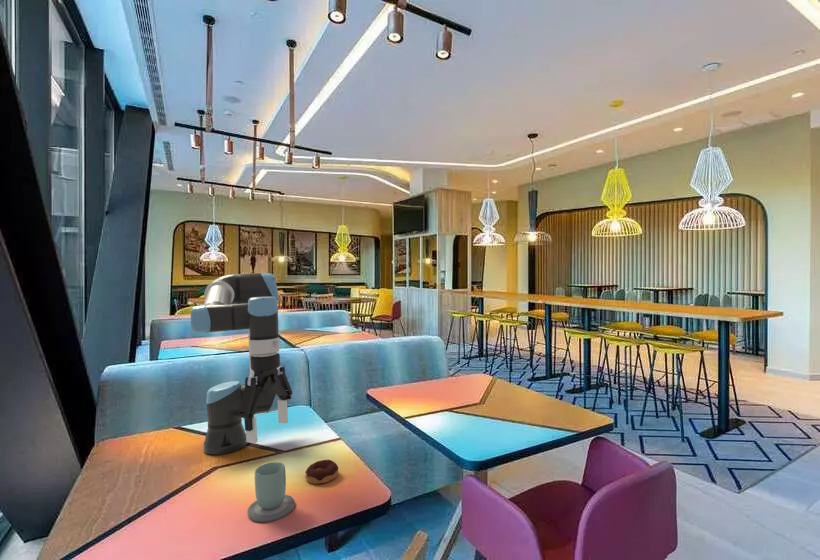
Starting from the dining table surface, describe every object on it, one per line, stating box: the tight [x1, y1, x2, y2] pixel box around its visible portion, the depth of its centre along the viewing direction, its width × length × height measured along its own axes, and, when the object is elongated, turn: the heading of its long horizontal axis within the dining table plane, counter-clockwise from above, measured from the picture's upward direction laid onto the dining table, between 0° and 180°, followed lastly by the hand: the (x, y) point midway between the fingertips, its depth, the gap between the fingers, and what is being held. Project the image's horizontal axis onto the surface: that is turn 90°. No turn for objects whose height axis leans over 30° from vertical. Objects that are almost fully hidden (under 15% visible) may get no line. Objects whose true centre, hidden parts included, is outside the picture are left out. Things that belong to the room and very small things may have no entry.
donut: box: [305, 459, 339, 485], centre depth 126 cm, size 10×10×4 cm
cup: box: [253, 461, 287, 509], centre depth 110 cm, size 8×8×10 cm
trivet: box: [247, 493, 296, 523], centre depth 110 cm, size 12×12×1 cm
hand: (268, 432), depth 110 cm, fingers open, 13 cm apart
